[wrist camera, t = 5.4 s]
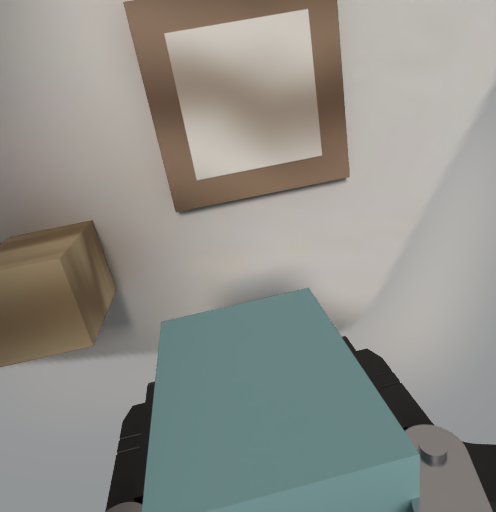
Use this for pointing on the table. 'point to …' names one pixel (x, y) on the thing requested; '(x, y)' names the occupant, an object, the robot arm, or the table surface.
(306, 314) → the teal block
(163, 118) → the brown framed white board
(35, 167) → the table surface
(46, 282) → the ochre block
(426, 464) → the robot arm
